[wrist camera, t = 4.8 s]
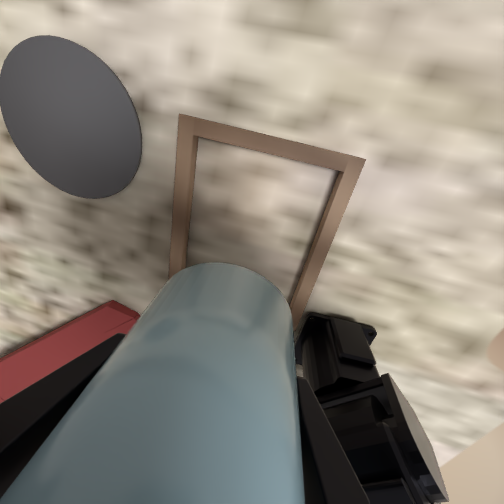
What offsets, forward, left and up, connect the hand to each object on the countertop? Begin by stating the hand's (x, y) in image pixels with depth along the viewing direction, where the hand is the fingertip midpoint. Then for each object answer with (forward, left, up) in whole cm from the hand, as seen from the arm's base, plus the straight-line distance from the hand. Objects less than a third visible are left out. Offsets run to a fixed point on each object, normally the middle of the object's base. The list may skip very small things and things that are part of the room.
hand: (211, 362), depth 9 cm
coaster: (+5, +14, -12) cm, 19 cm away
